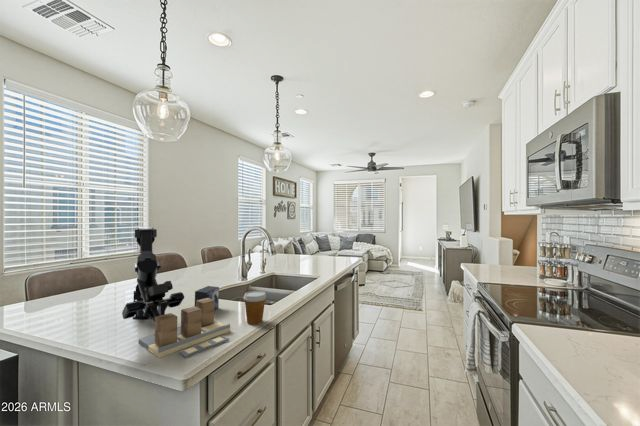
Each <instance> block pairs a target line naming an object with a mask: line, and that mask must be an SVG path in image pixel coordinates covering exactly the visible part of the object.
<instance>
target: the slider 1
mask: <svg viewBox="0 0 640 426" xmlns="http://www.w3.org/2000/svg"><path fill="white" fill-rule="evenodd" d="M177 327H178V315H176V314H174V313H172V312H170V313H165V315H161V316H157V317H155V322H154V334H155V345H157V346H159V347H160V348H161V347H163V346H166V345H169V344H172V343H175V342H177Z"/></svg>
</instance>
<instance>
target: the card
mask: <svg viewBox="0 0 640 426" xmlns="http://www.w3.org/2000/svg"><path fill="white" fill-rule="evenodd" d="M226 341H227V342H229V341H230V338H228V337H226V336H224V335H219V336H216V337H213V338H211V339H208V340H205V341H203V342H200V343H197V344H195V345H192V346H189V347H187V348H184V349H181V350H179V351H178V355H180V356H181V357H183V358H185V359H187V358H189V357H191V356H194V355H197V354H199V353H202V352H204V351H207V350H209V349H211V348H214V347H216V346H219V345H221V343H222V344H224V343H226Z"/></svg>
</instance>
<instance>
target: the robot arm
mask: <svg viewBox="0 0 640 426" xmlns="http://www.w3.org/2000/svg"><path fill="white" fill-rule="evenodd" d="M157 235H158V230H157V229H156V228H154V227H137V229H134V239H136V243H137V245H138V247H139V248H140V251H139V252H140V253H139V255H138V256H137V262H135V263H134V273H136V274H137V278H136V283H137V284H136V286H135V290H133V301H132V302H126V304H125V305H124V308H123V309H122V311H121V315H122V318H123V319H124V320H126V319H130V318H132V319H133V320H138V319H139V320H148V319H150V320H152V321H153V322H154V323H155V317H157V316H161V315H165V314H166V310H167V308H171V309H172V308H175V307H178V306H179V307H180V305H181V304H182V302H183V300H184V299H185V294H184V293H183V292H182V291H179V292H175V293H174V292H173V293H171V294H170V295H169V297H167V298H165V297H166V293H169V291H172V290H173V289H174V286H173V283H172V281H171V280H167V281H164V282H163V283H158V282H157V274H158V273H157V272H158V271H159V270H160V269H161V267H162V264H160V262H159V260H157V255H156V254H155V253H153V243H154V242H155V240H156V239H155V238H157V237H158V236H157Z"/></svg>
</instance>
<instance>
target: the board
mask: <svg viewBox="0 0 640 426" xmlns="http://www.w3.org/2000/svg"><path fill="white" fill-rule="evenodd" d="M229 332H231V324H230V323H227V324H223V323H221V322H219V321H216V320H214V323H211V324H208V325H205V326H201V334H198V335H195V336H192V337H189V338H186V337H184V336H182V335H181V325H179V326H177V342H175V343H172V344H169V345H166V346H163V347H161V348H160V347H159V346H157V345H155V333H154V334H151V335H148V336H143V337H141V338H139V339H138V344H139V345H141V347H143V348H145V349H146V350H148V351H149V352H151V354H153V355H155V356H156V357H157V358H162V357H165V356H167V355H170V354H173V353H176V352H179V351H182V350H185V349H187V348H190V347H193V346H195V345H198V344H201V343H203V342H206V341H209V340H212V339H214V338H217V337H220V336H222V335H224V334H226V333H229Z"/></svg>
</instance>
